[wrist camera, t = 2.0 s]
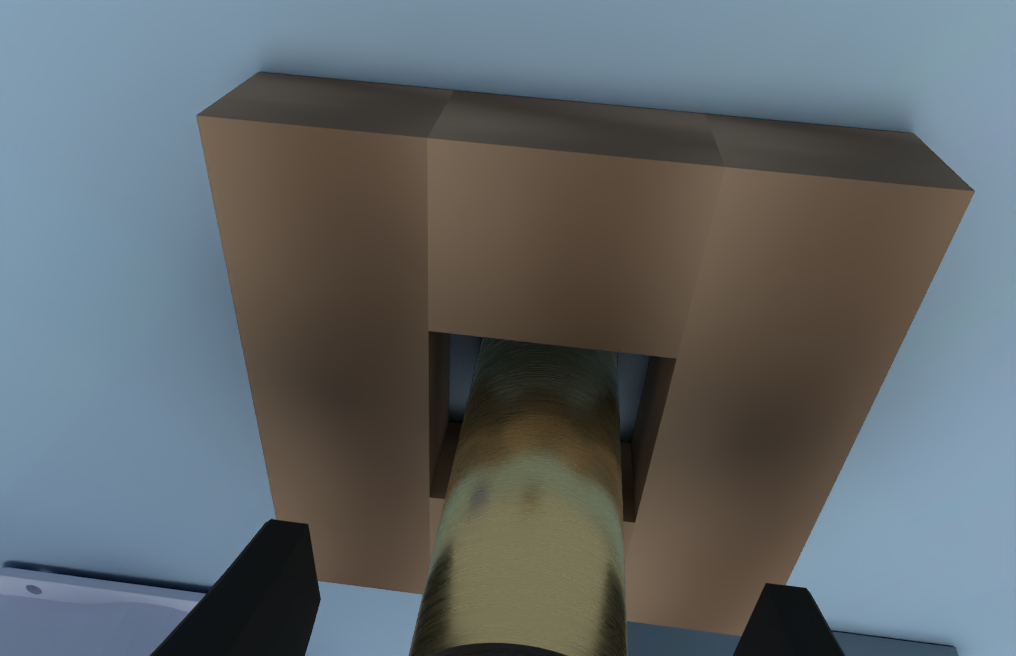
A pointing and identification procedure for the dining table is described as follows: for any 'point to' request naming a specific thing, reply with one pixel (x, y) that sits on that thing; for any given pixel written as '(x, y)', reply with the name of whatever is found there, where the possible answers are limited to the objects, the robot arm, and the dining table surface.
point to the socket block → (568, 308)
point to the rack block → (693, 652)
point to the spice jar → (531, 512)
